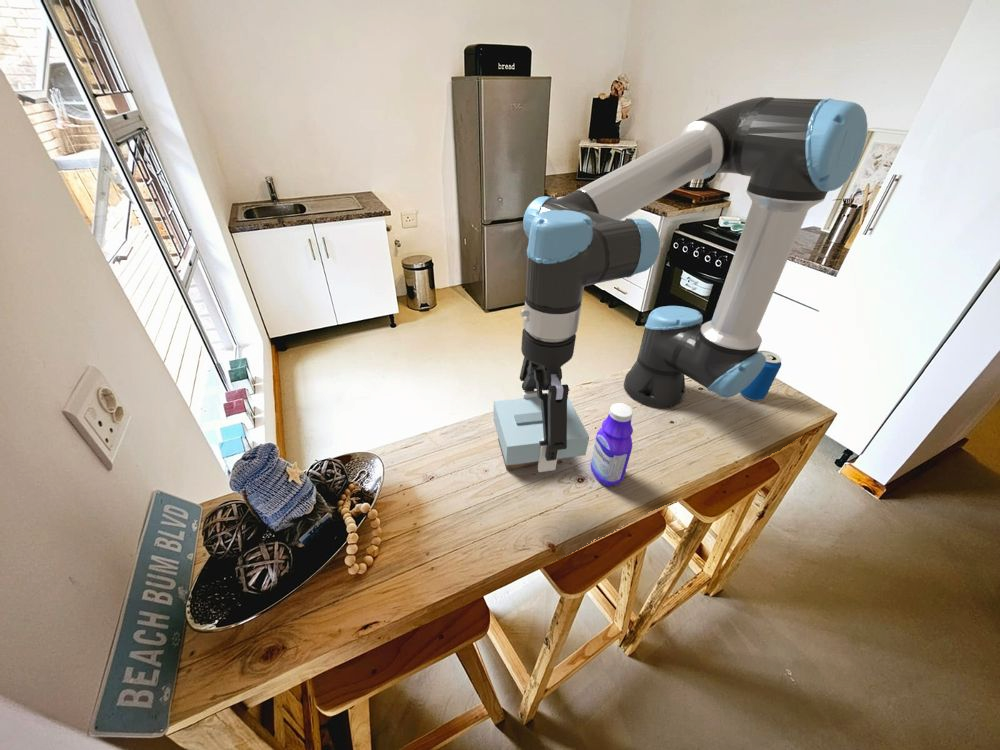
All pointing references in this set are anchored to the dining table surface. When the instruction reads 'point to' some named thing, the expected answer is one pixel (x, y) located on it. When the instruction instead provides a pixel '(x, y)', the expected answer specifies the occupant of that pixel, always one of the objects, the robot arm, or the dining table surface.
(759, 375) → the beverage can
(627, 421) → the bottle
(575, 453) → the lid
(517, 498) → the dining table surface
